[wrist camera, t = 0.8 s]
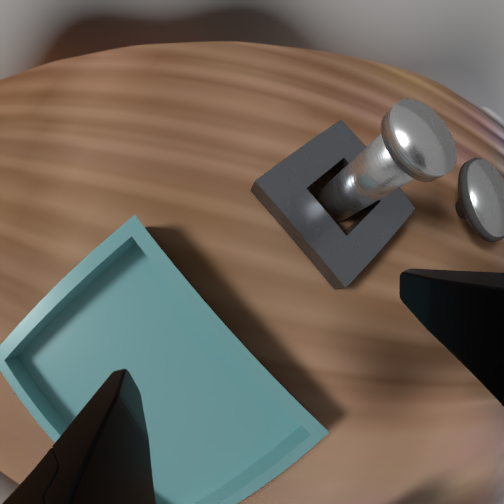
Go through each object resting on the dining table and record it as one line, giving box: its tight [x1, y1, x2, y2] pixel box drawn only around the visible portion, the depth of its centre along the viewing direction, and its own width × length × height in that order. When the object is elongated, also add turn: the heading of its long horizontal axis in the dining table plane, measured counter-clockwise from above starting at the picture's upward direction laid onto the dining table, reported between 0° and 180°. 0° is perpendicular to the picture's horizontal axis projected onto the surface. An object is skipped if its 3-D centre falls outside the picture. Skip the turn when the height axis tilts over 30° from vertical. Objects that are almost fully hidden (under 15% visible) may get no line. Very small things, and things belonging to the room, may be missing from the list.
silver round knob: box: [456, 158, 504, 242], centre depth 24 cm, size 9×9×5 cm
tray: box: [0, 215, 329, 504], centre depth 18 cm, size 20×16×3 cm
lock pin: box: [317, 98, 456, 221], centre depth 18 cm, size 4×4×12 cm
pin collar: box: [251, 120, 415, 289], centre depth 23 cm, size 10×10×2 cm
